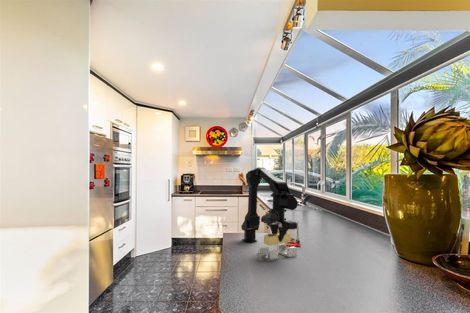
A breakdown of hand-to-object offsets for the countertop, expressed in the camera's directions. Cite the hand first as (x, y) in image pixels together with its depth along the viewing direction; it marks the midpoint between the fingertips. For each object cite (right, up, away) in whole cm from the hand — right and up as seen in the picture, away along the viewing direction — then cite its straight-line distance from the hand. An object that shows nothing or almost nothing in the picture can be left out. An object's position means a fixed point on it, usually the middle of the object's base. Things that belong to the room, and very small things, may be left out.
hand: (277, 240), depth 111 cm
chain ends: (0, -7, -1) cm, 7 cm away
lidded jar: (+12, -11, +32) cm, 36 cm away
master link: (0, -1, 0) cm, 1 cm away
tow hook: (+11, -10, +20) cm, 25 cm away
